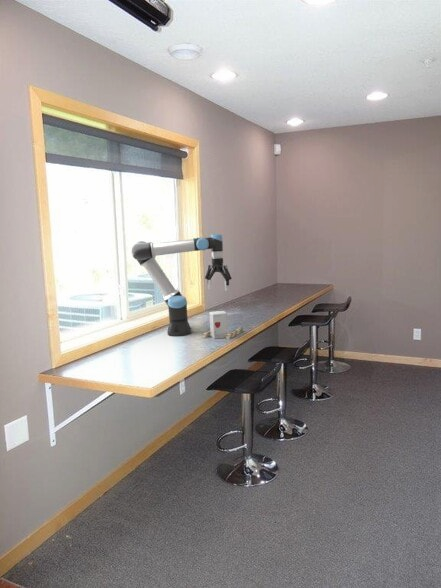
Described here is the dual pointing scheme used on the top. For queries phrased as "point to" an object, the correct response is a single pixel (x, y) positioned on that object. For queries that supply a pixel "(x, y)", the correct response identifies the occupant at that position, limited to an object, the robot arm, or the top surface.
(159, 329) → the top surface
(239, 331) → the beige paired bars
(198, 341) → the top surface
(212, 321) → the supplement box
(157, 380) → the top surface
